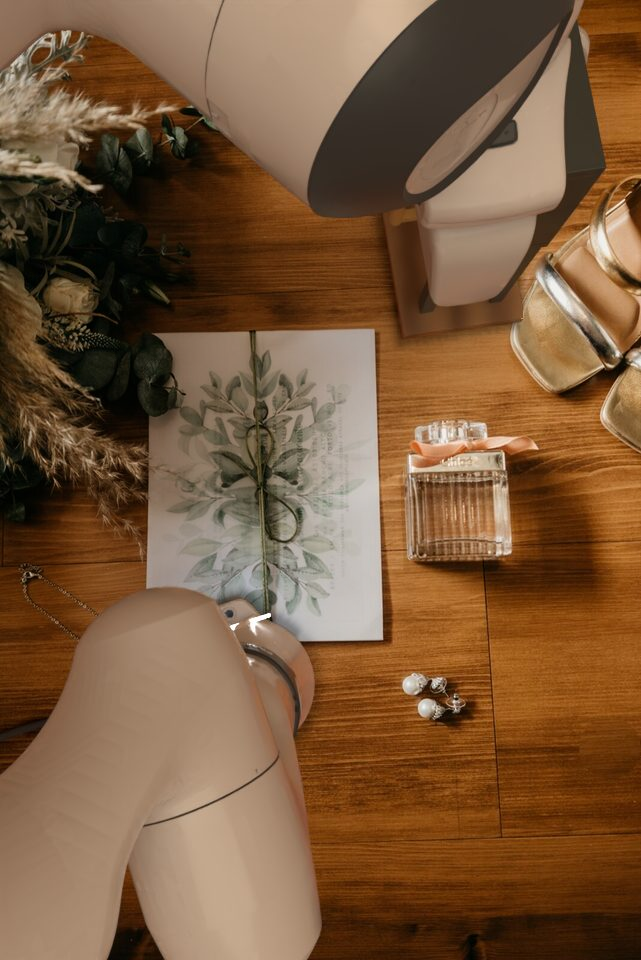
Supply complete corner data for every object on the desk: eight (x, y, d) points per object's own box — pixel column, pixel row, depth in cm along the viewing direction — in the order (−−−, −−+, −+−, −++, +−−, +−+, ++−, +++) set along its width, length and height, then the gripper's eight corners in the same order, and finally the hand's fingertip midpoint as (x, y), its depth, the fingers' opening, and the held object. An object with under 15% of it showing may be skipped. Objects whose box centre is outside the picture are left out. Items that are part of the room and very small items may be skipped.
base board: (402, 339, 83) (403, 335, 82) (375, 176, 85) (376, 169, 84) (521, 321, 83) (525, 317, 82) (491, 159, 85) (494, 152, 84)
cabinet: (418, 316, 82) (472, 187, 53) (395, 183, 83) (436, -15, 54) (504, 303, 82) (607, 167, 53) (480, 171, 83) (567, -33, 54)
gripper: (359, -169, 33) (348, 40, 47) (432, 250, 31) (398, 341, 45) (492, -188, 33) (442, 26, 47) (574, 229, 32) (497, 326, 45)
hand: (421, 183), depth 46 cm, fingers closed
